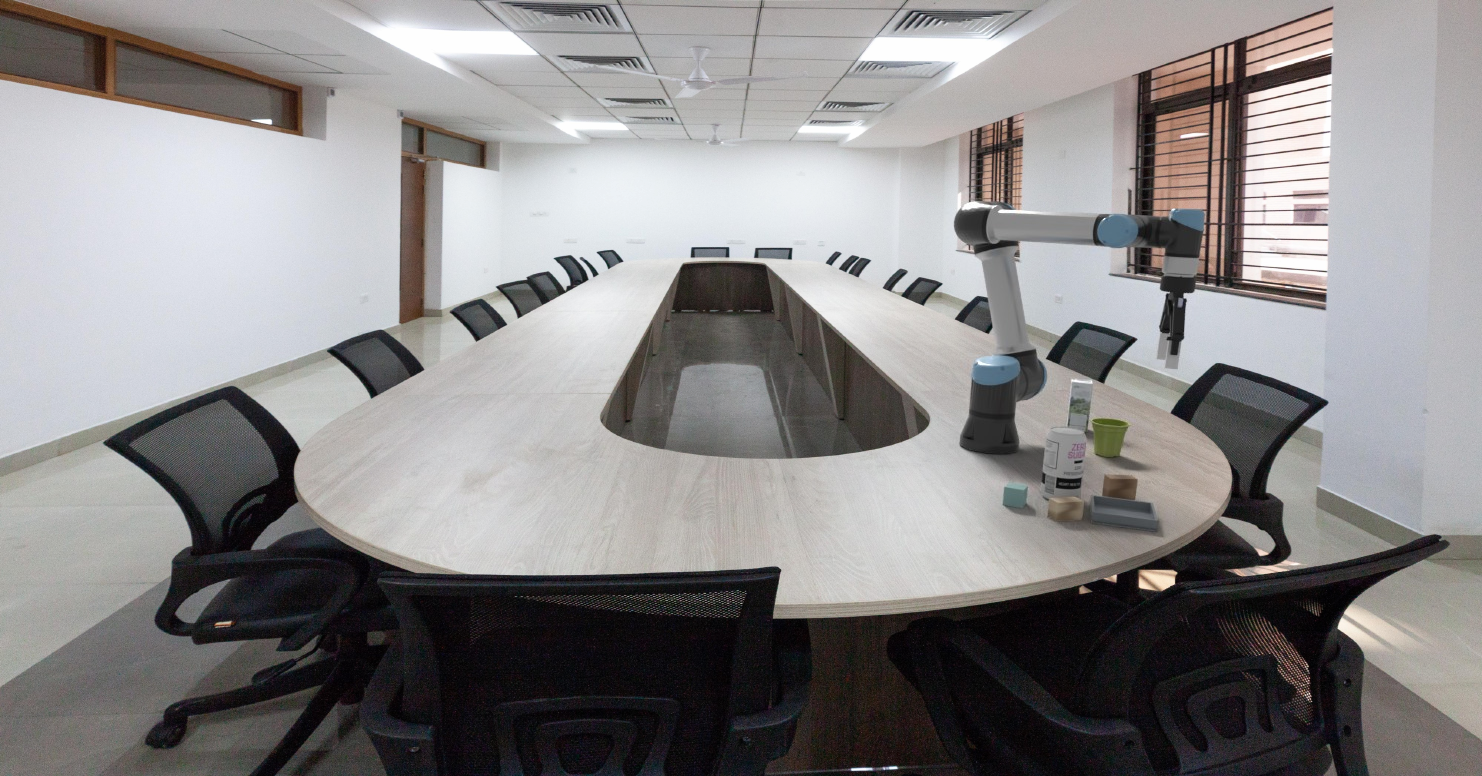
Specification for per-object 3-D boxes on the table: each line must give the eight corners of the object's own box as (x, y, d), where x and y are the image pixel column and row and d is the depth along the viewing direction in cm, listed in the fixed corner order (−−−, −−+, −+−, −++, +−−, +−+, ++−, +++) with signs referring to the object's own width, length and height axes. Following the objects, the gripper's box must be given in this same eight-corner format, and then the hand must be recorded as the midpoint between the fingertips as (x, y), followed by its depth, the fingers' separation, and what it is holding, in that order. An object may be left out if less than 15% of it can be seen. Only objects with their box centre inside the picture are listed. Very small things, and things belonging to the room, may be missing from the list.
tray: (1091, 522, 180) (1092, 511, 179) (1089, 505, 191) (1090, 494, 190) (1156, 531, 176) (1158, 520, 175) (1151, 513, 187) (1152, 502, 187)
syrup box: (1087, 428, 261) (1092, 379, 258) (1087, 433, 255) (1093, 382, 253) (1066, 426, 263) (1071, 377, 260) (1066, 430, 257) (1071, 380, 254)
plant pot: (1086, 456, 230) (1090, 423, 229) (1087, 448, 239) (1091, 416, 237) (1126, 461, 227) (1130, 427, 225) (1125, 452, 235) (1129, 420, 234)
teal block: (1002, 505, 189) (1004, 486, 189) (1007, 500, 193) (1008, 482, 192) (1022, 508, 188) (1023, 490, 187) (1026, 503, 191) (1028, 485, 190)
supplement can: (1046, 489, 201) (1053, 423, 198) (1084, 496, 197) (1092, 430, 194) (1035, 498, 195) (1042, 430, 192) (1074, 506, 190) (1082, 437, 187)
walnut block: (1107, 500, 195) (1110, 478, 194) (1101, 496, 198) (1104, 474, 197) (1135, 501, 195) (1137, 479, 194) (1129, 497, 198) (1131, 475, 197)
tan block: (1056, 521, 180) (1058, 502, 179) (1047, 516, 183) (1049, 498, 182) (1082, 520, 182) (1084, 501, 181) (1072, 515, 185) (1074, 496, 184)
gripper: (1206, 280, 200) (1192, 374, 204) (1187, 272, 223) (1175, 357, 228) (1170, 277, 202) (1156, 371, 206) (1154, 271, 225) (1143, 354, 230)
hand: (1166, 364), depth 217 cm, fingers open, 13 cm apart
